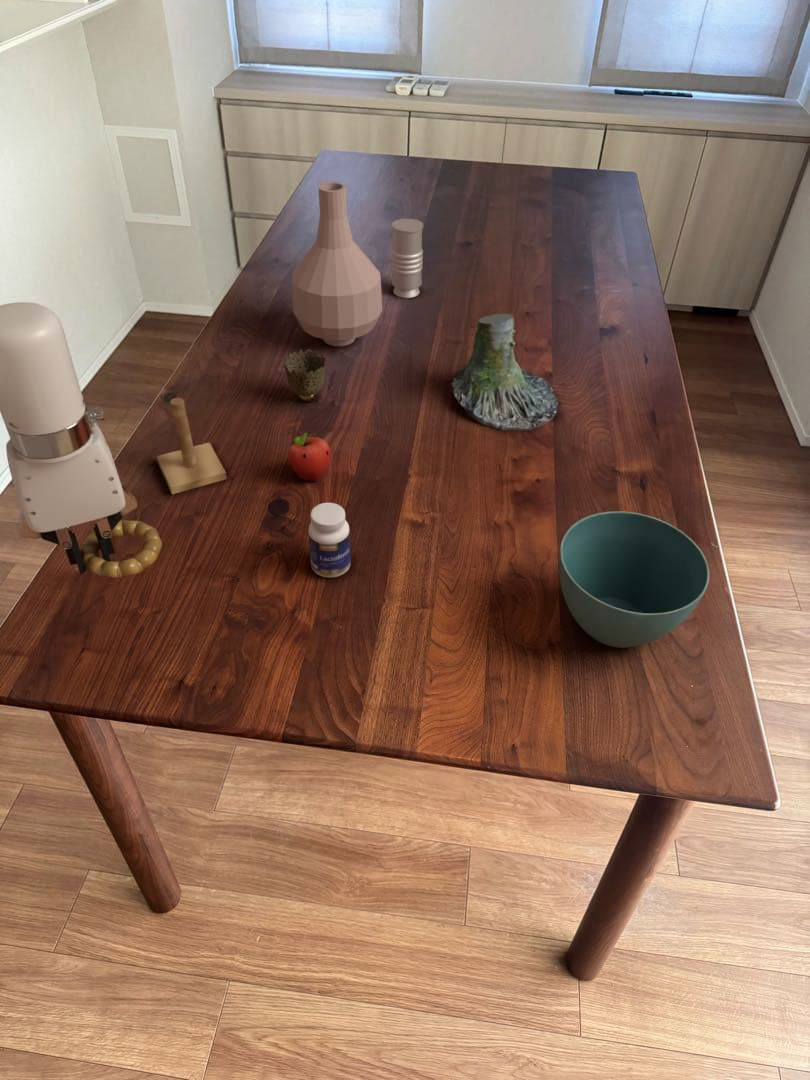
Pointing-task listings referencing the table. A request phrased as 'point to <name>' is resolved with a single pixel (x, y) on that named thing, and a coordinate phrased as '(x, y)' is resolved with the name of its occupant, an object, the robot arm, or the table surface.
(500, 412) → the tree stump
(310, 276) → the vase
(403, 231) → the ribbed beige cylinder
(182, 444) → the post stand
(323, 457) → the apple
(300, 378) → the cup
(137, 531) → the ring
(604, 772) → the table surface
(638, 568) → the teal bowl
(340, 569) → the pill bottle
